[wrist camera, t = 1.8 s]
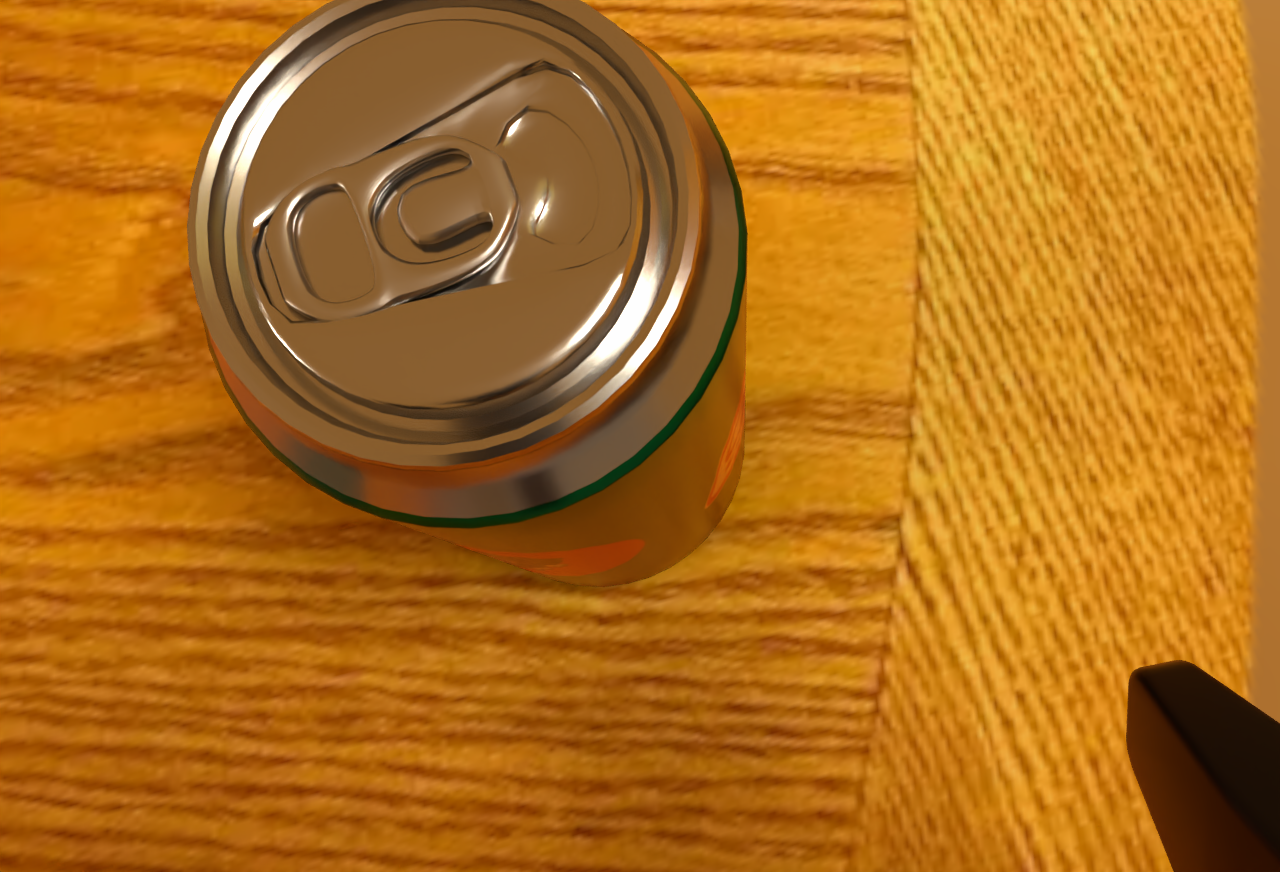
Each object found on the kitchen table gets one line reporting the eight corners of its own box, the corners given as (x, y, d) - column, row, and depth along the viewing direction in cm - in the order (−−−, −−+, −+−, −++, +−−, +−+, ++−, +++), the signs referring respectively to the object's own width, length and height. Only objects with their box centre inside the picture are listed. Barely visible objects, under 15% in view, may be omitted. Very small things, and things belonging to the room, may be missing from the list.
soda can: (787, 527, 21) (845, 379, 9) (516, 630, 21) (238, 608, 9) (684, 269, 22) (621, -161, 10) (426, 368, 22) (71, 52, 10)
